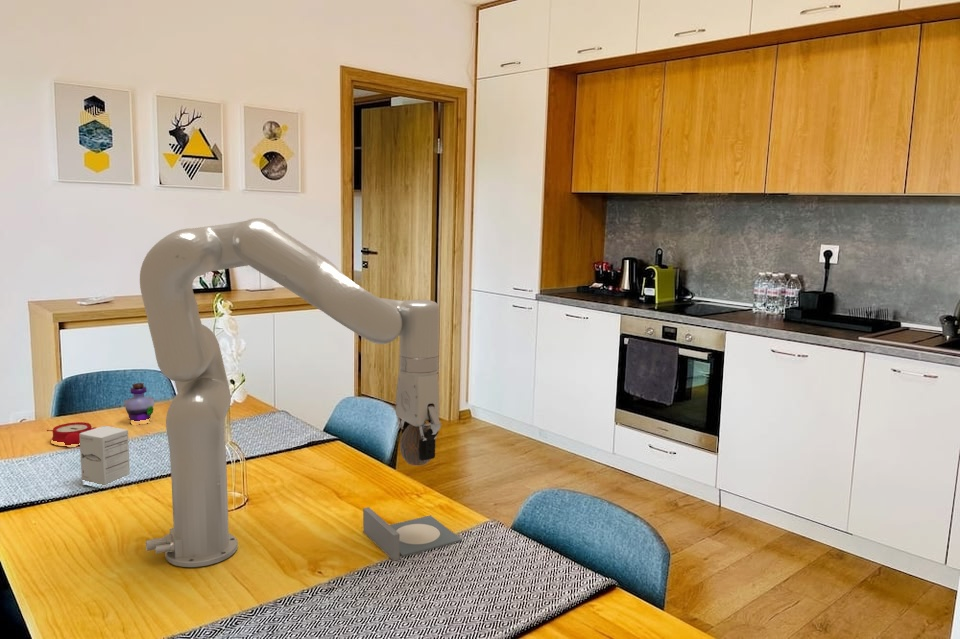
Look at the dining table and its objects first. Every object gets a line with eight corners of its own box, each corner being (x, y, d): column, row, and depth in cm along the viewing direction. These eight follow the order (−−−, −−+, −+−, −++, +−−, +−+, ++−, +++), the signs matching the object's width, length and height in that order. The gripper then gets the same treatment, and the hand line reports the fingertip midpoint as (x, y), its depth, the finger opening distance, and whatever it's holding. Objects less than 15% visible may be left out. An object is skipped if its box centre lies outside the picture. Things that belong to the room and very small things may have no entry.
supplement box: (80, 486, 162) (77, 433, 160) (108, 475, 168) (105, 424, 167) (104, 491, 159) (101, 437, 157) (131, 480, 166) (128, 428, 164)
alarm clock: (78, 420, 200) (107, 417, 192) (82, 441, 200) (111, 439, 192) (39, 429, 191) (69, 426, 183) (44, 451, 191) (73, 450, 184)
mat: (402, 557, 132) (402, 554, 132) (373, 530, 142) (373, 528, 142) (462, 541, 139) (462, 539, 139) (430, 517, 149) (430, 515, 149)
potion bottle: (151, 426, 207) (149, 386, 205) (120, 427, 206) (117, 387, 204) (159, 418, 216) (157, 379, 214) (128, 419, 214) (126, 380, 212)
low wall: (393, 561, 130) (393, 535, 129) (363, 531, 142) (363, 508, 141) (399, 559, 131) (399, 533, 130) (368, 530, 142) (368, 507, 142)
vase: (429, 470, 134) (430, 425, 133) (395, 466, 136) (395, 422, 134) (439, 458, 141) (440, 415, 140) (406, 454, 142) (406, 412, 141)
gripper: (382, 357, 141) (381, 443, 143) (422, 375, 126) (421, 470, 129) (415, 354, 145) (414, 438, 147) (458, 371, 130) (456, 463, 133)
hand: (417, 452), depth 138 cm, fingers closed on vase, 6 cm apart
